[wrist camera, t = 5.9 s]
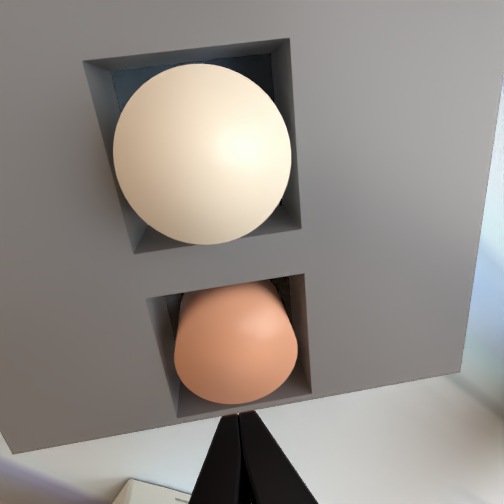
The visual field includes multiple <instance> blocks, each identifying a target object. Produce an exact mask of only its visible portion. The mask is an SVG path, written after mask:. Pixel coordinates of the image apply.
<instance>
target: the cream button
mask: <svg viewBox="0 0 504 504" xmlns="http://www.w3.org/2000/svg"><path fill="white" fill-rule="evenodd" d="M113 159H114V167H115V172H116V176H117V179H118V182H119V185H120V188H121V190H122V192H123V194H124V196H125V198H126V199H127V201H128V202H129V204H130V205H131V207H132V208H133V209H134V211H135V212H136V213H137V214H138V215H139V216H140V217H141V218H142V219H143V220H144V221H145V222H146V223H147V224H148V225H150V226H151V227H153V228H154V229H155V230H157V231H159V232H160V233H162V234H164V235H166V236H168V237H170V238H173V239H175V240H178V241H182V242H185V243H191V244H199V245H211V244H220V243H224V242H229V241H232V240H235V239H238V238H240V237H242V236H244V235H246V234H248V233H249V232H251V231H253V230H254V229H256V228H257V227H258V226H259V225H261V224H262V223H263V222H264V221H265V220H266V219H267V218H268V217H269V216H270V215H271V214H272V212H273V211H274V209H275V208H276V207H277V205H278V204H279V202H280V200H281V198H282V196H283V194H284V191H285V189H286V186H287V183H288V179H289V175H290V168H291V147H290V139H289V135H288V132H287V128H286V125H285V123H284V120H283V118H282V116H281V114H280V112H279V111H278V109H277V107H276V105H275V104H274V103H273V101H272V100H271V99H270V97H269V96H268V95H267V94H266V93H265V92H264V91H263V90H262V89H261V88H260V87H259V86H258V85H256V84H255V83H254V82H252V81H251V80H250V79H248V78H247V77H245V76H243V75H241V74H240V73H238V72H235V71H233V70H230V69H228V68H224V67H220V66H216V65H210V64H188V65H182V66H177V67H174V68H171V69H168V70H165V71H163V72H161V73H159V74H158V75H156V76H154V77H152V78H151V79H150V80H148V81H147V82H146V83H144V84H143V85H142V86H141V87H140V88H139V89H138V90H137V91H136V92H135V93H134V94H133V95H132V97H131V98H130V99H129V101H128V102H127V104H126V105H125V107H124V109H123V111H122V113H121V115H120V118H119V120H118V123H117V126H116V131H115V135H114V143H113Z"/></svg>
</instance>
